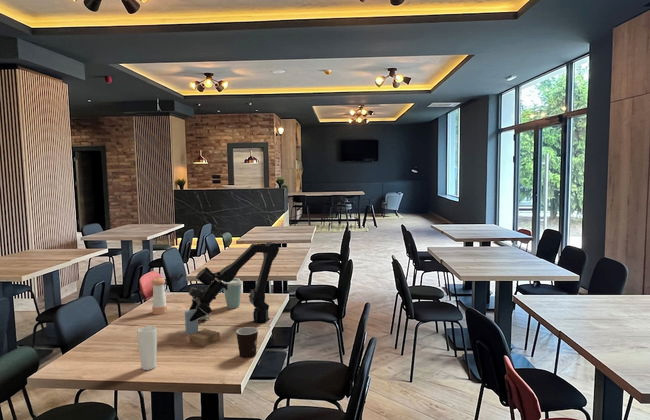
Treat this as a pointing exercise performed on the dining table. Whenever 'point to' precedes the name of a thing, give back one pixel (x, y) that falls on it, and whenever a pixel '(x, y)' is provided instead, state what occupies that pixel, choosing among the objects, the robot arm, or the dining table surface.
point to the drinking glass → (147, 346)
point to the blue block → (190, 326)
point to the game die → (205, 317)
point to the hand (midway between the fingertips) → (188, 318)
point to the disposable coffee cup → (233, 293)
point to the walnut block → (204, 337)
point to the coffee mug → (247, 341)
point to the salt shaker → (159, 296)
